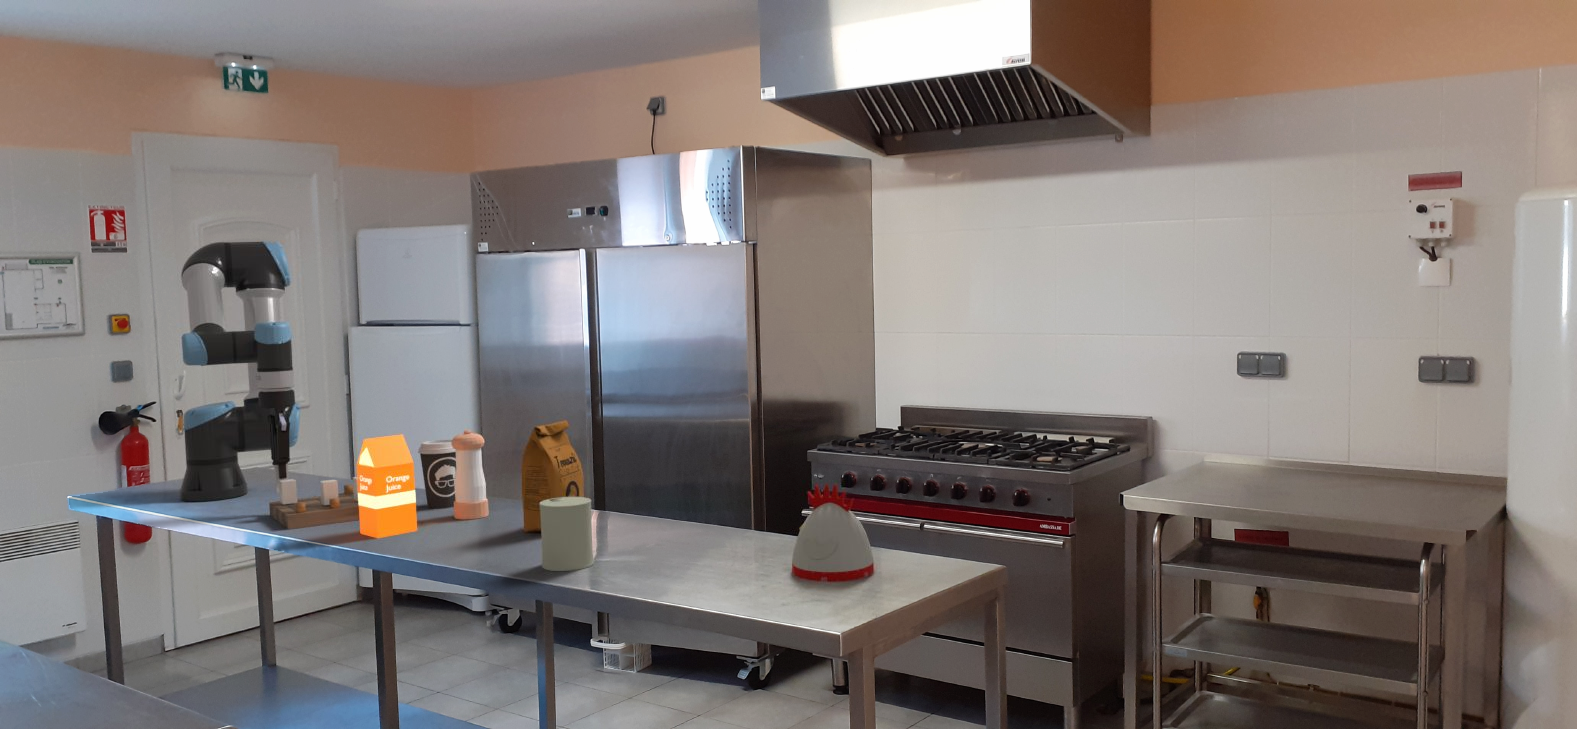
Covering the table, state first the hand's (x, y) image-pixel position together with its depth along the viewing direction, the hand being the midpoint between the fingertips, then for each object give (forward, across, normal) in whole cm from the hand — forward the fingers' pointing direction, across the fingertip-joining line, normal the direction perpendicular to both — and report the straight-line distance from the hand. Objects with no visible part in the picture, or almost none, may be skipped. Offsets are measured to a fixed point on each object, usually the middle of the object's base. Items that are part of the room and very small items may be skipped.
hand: (282, 491), depth 258 cm
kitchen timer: (+6, +125, +63) cm, 140 cm away
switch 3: (+2, +14, +14) cm, 20 cm away
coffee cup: (+5, +17, +31) cm, 36 cm away
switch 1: (+2, +6, 0) cm, 6 cm away
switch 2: (+2, +14, +7) cm, 16 cm away
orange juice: (+5, +38, +13) cm, 41 cm away
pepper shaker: (+5, +34, +32) cm, 47 cm away
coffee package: (+5, +59, +41) cm, 72 cm away
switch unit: (+5, +10, +7) cm, 13 cm away
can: (+5, +90, +30) cm, 95 cm away
